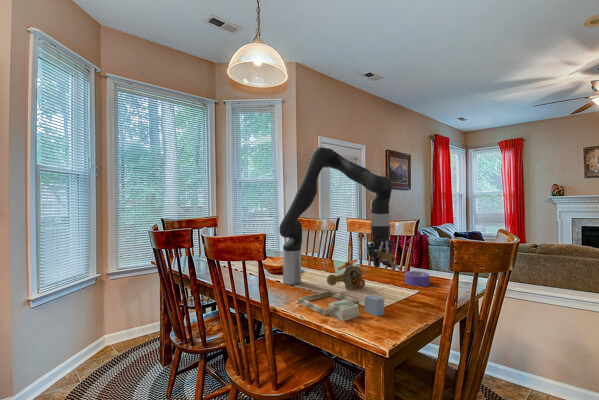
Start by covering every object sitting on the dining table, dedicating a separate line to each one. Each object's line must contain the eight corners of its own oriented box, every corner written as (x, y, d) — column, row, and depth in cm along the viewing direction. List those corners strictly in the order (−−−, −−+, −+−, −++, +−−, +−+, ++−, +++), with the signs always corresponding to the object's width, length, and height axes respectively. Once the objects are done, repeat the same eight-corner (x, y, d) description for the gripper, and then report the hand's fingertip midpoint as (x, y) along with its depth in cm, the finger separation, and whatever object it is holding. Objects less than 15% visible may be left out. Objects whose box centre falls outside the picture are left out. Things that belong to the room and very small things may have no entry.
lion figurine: (364, 266, 126) (364, 245, 126) (370, 264, 130) (370, 243, 130) (398, 272, 116) (398, 249, 116) (404, 269, 120) (403, 247, 120)
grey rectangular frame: (297, 302, 127) (297, 292, 127) (330, 294, 137) (330, 285, 137) (338, 322, 105) (338, 310, 105) (374, 311, 115) (373, 300, 115)
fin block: (364, 311, 115) (364, 296, 115) (372, 309, 117) (371, 294, 118) (376, 316, 110) (376, 300, 110) (384, 314, 112) (383, 298, 113)
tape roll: (433, 286, 147) (433, 276, 147) (409, 287, 147) (409, 276, 147) (424, 280, 159) (423, 270, 159) (401, 280, 159) (401, 271, 159)
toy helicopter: (367, 287, 147) (366, 259, 147) (333, 295, 136) (333, 265, 136) (355, 283, 154) (355, 257, 154) (323, 291, 143) (322, 262, 143)
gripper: (384, 223, 131) (385, 262, 131) (361, 224, 123) (361, 266, 123) (399, 224, 125) (399, 265, 125) (375, 226, 117) (375, 270, 117)
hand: (380, 265), depth 124 cm, fingers closed on lion figurine, 4 cm apart
